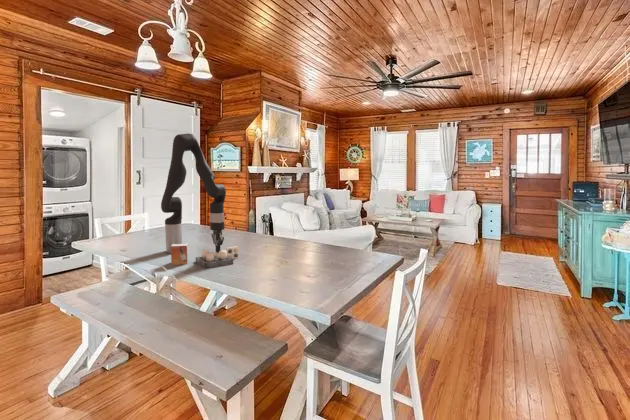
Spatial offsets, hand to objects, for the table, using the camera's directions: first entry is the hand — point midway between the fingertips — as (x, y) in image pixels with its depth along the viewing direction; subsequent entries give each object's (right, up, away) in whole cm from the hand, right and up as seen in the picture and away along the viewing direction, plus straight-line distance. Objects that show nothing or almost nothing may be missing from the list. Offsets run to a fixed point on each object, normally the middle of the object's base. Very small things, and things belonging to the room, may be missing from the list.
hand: (218, 252), depth 187 cm
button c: (-6, -3, -4) cm, 7 cm away
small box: (-19, -6, -5) cm, 20 cm away
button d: (0, -4, +1) cm, 4 cm away
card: (+7, -5, +5) cm, 10 cm away
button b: (+4, -3, -5) cm, 7 cm away
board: (-1, -6, -4) cm, 7 cm away
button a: (-1, -4, -9) cm, 10 cm away
